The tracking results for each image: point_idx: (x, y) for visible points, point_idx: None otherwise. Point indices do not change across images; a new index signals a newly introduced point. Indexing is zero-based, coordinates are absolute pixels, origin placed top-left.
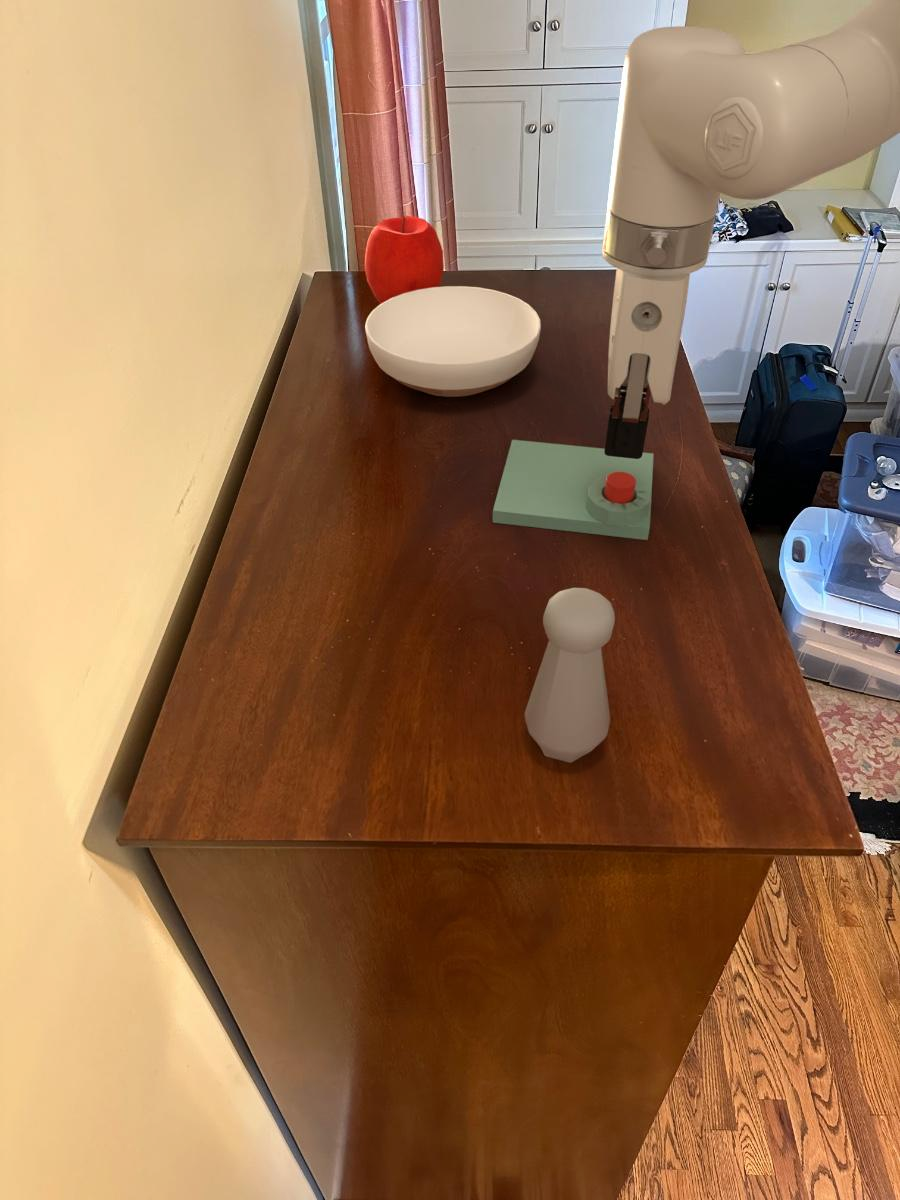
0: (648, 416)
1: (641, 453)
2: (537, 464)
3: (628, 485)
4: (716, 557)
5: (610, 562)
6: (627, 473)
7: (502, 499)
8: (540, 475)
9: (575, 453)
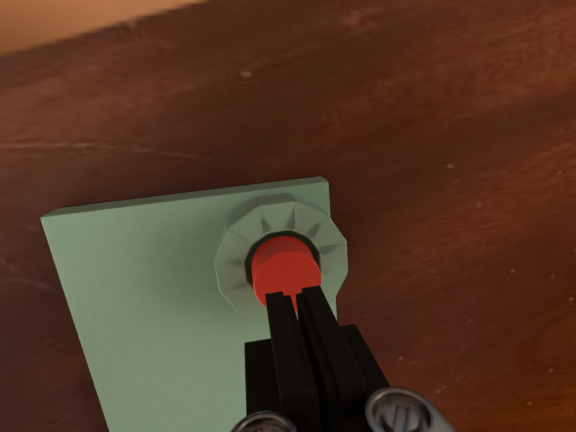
0: (350, 384)
1: (320, 292)
2: (188, 411)
3: (307, 264)
4: (339, 35)
5: (393, 225)
6: (257, 275)
7: None
8: (220, 396)
9: (120, 364)
